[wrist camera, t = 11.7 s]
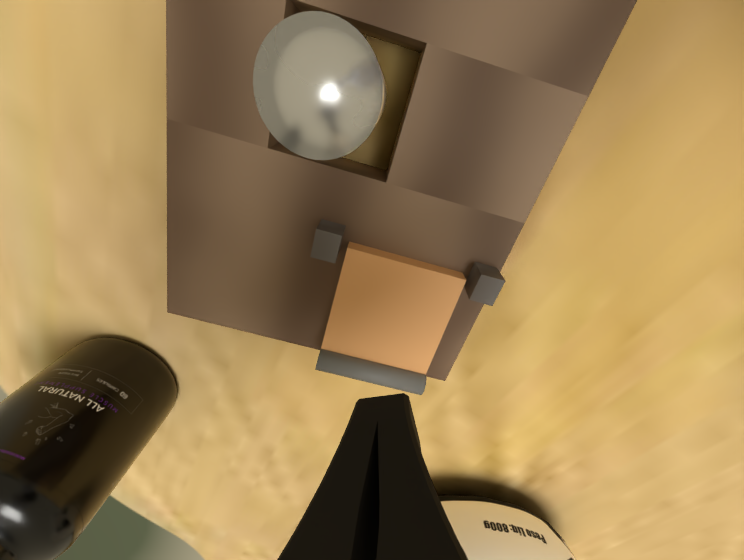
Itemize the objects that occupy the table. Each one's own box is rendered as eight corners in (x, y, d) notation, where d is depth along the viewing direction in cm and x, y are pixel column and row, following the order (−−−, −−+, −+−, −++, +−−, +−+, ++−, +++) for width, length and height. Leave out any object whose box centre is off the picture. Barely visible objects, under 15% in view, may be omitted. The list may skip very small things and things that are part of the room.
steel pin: (392, 56, 14) (392, 22, 7) (381, 139, 15) (373, 168, 9) (315, 45, 13) (250, 0, 7) (312, 129, 15) (254, 151, 9)
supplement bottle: (150, 325, 20) (-118, 578, 10) (198, 409, 23) (35, 671, 13) (48, 339, 21) (-302, 585, 10) (107, 418, 24) (-117, 671, 13)
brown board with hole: (594, 15, 13) (665, -14, 9) (439, 349, 20) (448, 398, 17) (209, -120, 11) (136, -207, 8) (193, 287, 19) (152, 326, 15)
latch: (462, 272, 15) (469, 286, 14) (417, 379, 17) (420, 399, 16) (349, 241, 14) (345, 252, 13) (319, 355, 17) (314, 374, 16)
